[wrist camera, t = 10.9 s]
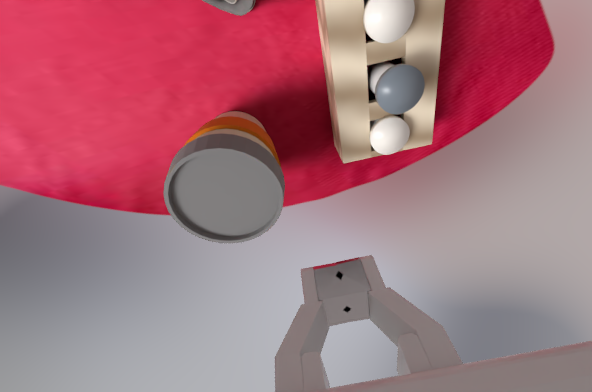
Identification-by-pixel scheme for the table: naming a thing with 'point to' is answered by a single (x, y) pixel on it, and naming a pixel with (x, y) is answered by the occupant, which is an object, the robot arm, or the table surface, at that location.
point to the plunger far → (388, 134)
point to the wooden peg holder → (358, 54)
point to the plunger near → (387, 19)
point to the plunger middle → (395, 86)
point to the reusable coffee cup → (226, 181)
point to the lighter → (233, 5)
